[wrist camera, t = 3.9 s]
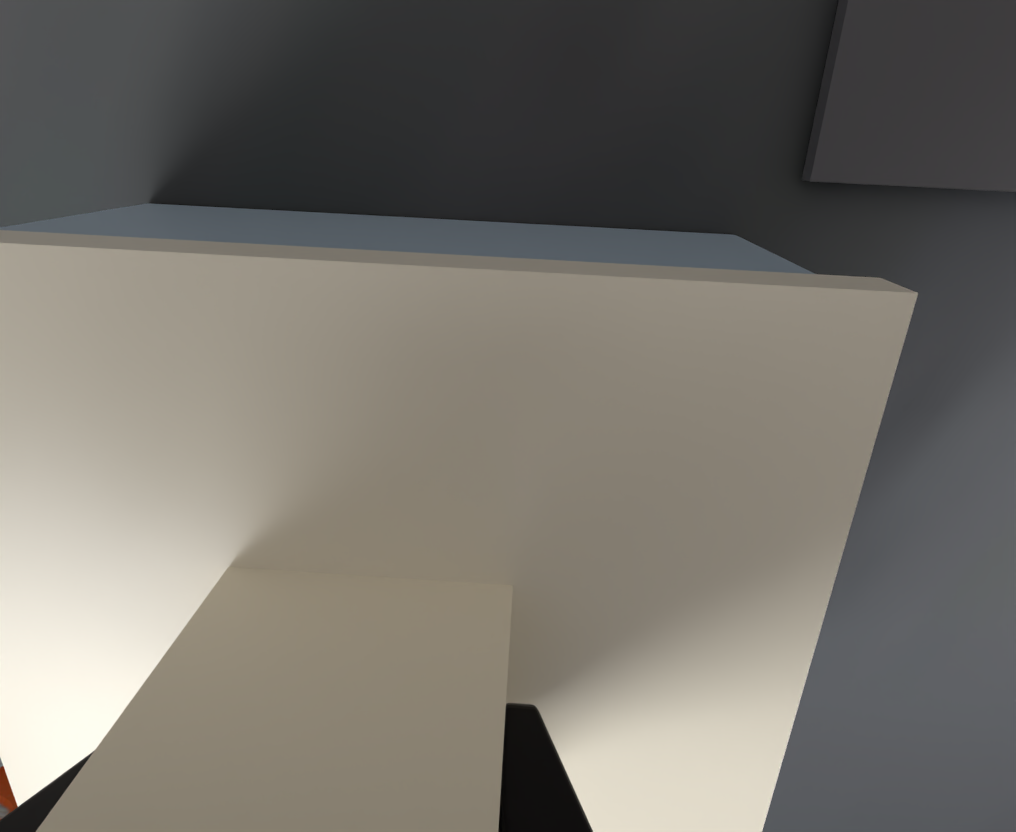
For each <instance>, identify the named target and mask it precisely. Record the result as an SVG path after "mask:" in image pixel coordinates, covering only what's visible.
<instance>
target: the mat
mask: <svg viewBox="0 0 1016 832" xmlns="http://www.w3.org/2000/svg"><path fill="white" fill-rule="evenodd" d="M802 180H804V181H812V182H831V183H851V184H870V185H890V186H909V187H929V188H948V189H967V190H987V191H1006V192H1016V0H839V1H838V6H837V11H836V16H835V21H834V26H833V30H832V35H831V40H830V45H829V50H828V55H827V59H826V64H825V69H824V74H823V79H822V84H821V88H820V93H819V98H818V103H817V108H816V112H815V117H814V122H813V127H812V132H811V137H810V141H809V146H808V151H807V156H806V161H805V166H804V170H803V175H802Z"/></svg>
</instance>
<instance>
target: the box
mask: <svg viewBox="0 0 1016 832" xmlns="http://www.w3.org/2000/svg"><path fill="white" fill-rule="evenodd" d="M0 230H10V231H29V232H47V233H66V234H84V235H102V236H121V237H139V238H158V239H176V240H195V241H213V242H231V243H250V244H268V245H287V246H305V247H324V248H342V249H360V250H379V251H397V252H416V253H434V254H453V255H471V256H489V257H508V258H526V259H545V260H563V261H582V262H600V263H618V264H637V265H655V266H674V267H692V268H711V269H729V270H747V271H766V272H784V273H803V274H815V273H813V272H811V271H808V270H806V269H804V268H802V267H800V266H798V265H796V264H794V263H792V262H790V261H788V260H786V259H784V258H782V257H780V256H778V255H776V254H774V253H772V252H769V251H767V250H765V249H763V248H761V247H759V246H757V245H755V244H753V243H751V242H749V241H747V240H745V239H743V238H741V237H739V236H737V235H732V234H713V233H694V232H675V231H657V230H638V229H619V228H600V227H582V226H563V225H544V224H525V223H507V222H488V221H469V220H450V219H432V218H413V217H394V216H375V215H357V214H338V213H319V212H300V211H281V210H263V209H244V208H225V207H206V206H188V205H169V204H150V203H146V204H140V205H134V206H128V207H122V208H116V209H110V210H104V211H98V212H92V213H85V214H79V215H73V216H67V217H61V218H55V219H49V220H43V221H37V222H30V223H24V224H18V225H12V226H6V227H0Z"/></svg>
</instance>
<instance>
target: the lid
mask: <svg viewBox="0 0 1016 832" xmlns="http://www.w3.org/2000/svg"><path fill="white" fill-rule="evenodd" d="M917 296H918V293H917V292H914V291H912V290H909V289H907V288H904V287H902V286H900V285H897V284H895V283H892V282H890V281H887V280H885V279H882V278H876V277H858V276H840V275H821V274H803V273H784V272H766V271H747V270H729V269H711V268H692V267H674V266H655V265H637V264H618V263H600V262H582V261H563V260H545V259H526V258H508V257H489V256H471V255H453V254H434V253H416V252H397V251H379V250H360V249H342V248H324V247H305V246H287V245H268V244H250V243H231V242H213V241H195V240H176V239H158V238H139V237H121V236H102V235H84V234H66V233H47V232H29V231H10V230H0V758H1V760H2V763H3V766H4V769H5V772H6V775H7V777H8V780H9V783H10V786H11V789H12V792H13V795H14V797H15V800H16V803H17V806H20V805H21V804H22V803H24V802H25V801H26V800H28V799H29V798H30V797H32V796H33V795H35V794H36V793H37V792H39V791H40V790H41V789H43V788H44V787H45V786H47V785H48V784H49V783H51V782H52V781H54V780H55V779H56V778H58V777H59V776H60V775H62V774H63V773H64V772H66V771H67V770H68V769H70V768H71V767H73V766H74V765H75V764H77V763H78V762H79V761H81V760H82V759H83V758H85V757H86V756H88V755H89V754H90V753H92V752H93V751H94V750H95V751H94V752H93V754H92V755H91V756H90V758H89V759H88V760H87V762H86V763H85V765H84V766H83V767H82V769H81V770H80V771H79V773H78V774H77V776H76V777H75V778H74V780H73V781H72V782H71V784H70V785H69V787H68V788H67V789H66V791H65V792H64V793H63V795H62V796H61V798H60V799H59V800H58V802H57V803H56V804H55V806H54V807H53V809H52V810H51V811H50V813H49V814H48V815H47V817H46V818H45V820H44V821H43V822H42V824H41V825H40V826H39V828H38V829H37V831H36V832H498V828H499V812H500V795H501V778H502V761H503V744H504V727H505V710H506V704H507V703H521V704H532V705H534V706H536V707H537V709H538V710H539V712H540V714H541V717H542V719H543V721H544V723H545V726H546V728H547V730H548V732H549V734H550V737H551V739H552V741H553V743H554V746H555V748H556V750H557V752H558V754H559V757H560V759H561V761H562V763H563V765H564V768H565V770H566V772H567V774H568V777H569V779H570V781H571V783H572V785H573V788H574V790H575V792H576V794H577V797H578V799H579V801H580V803H581V805H582V808H583V810H584V812H585V814H586V817H587V819H588V821H589V823H590V825H591V828H592V830H593V832H762V830H763V826H764V823H765V819H766V816H767V812H768V809H769V806H770V802H771V799H772V795H773V792H774V788H775V785H776V781H777V778H778V775H779V771H780V768H781V764H782V761H783V757H784V754H785V750H786V747H787V744H788V740H789V737H790V733H791V730H792V726H793V723H794V719H795V716H796V712H797V709H798V706H799V702H800V699H801V695H802V692H803V688H804V685H805V681H806V678H807V675H808V671H809V668H810V664H811V661H812V657H813V654H814V650H815V647H816V644H817V640H818V637H819V633H820V630H821V626H822V623H823V619H824V616H825V613H826V609H827V606H828V602H829V599H830V595H831V592H832V588H833V585H834V582H835V578H836V575H837V571H838V568H839V564H840V561H841V557H842V554H843V551H844V547H845V544H846V540H847V537H848V533H849V530H850V526H851V523H852V520H853V516H854V513H855V509H856V506H857V502H858V499H859V495H860V492H861V489H862V485H863V482H864V478H865V475H866V471H867V468H868V464H869V461H870V458H871V454H872V451H873V447H874V444H875V440H876V437H877V433H878V430H879V427H880V423H881V420H882V416H883V413H884V409H885V406H886V402H887V399H888V396H889V392H890V389H891V385H892V382H893V378H894V375H895V371H896V368H897V364H898V361H899V358H900V354H901V351H902V347H903V344H904V340H905V337H906V333H907V330H908V327H909V323H910V320H911V316H912V313H913V309H914V306H915V302H916V299H917Z"/></svg>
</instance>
